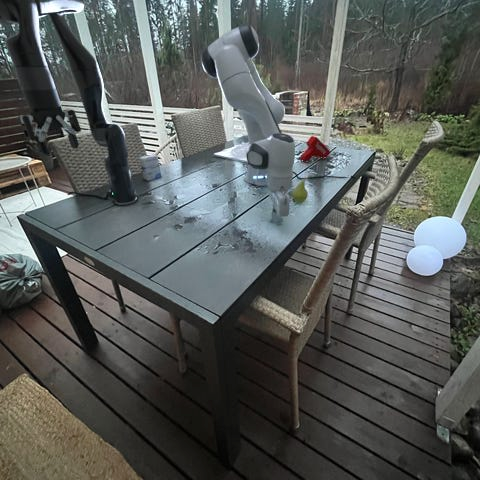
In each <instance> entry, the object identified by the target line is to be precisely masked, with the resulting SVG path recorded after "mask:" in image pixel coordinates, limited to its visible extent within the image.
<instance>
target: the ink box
mask: <svg viewBox="0 0 480 480" xmlns="http://www.w3.org/2000/svg"><path fill="white" fill-rule="evenodd" d="M138 158H139V162H140V168H141V173H142V178H143V180H145V181H148V182H149V181H152V180H153V181H154V180H156V179H159V178H162V173H161V167H160V160H159V156H158V155H156V154H149V155H145V156H144V155H143V156H139V157H138Z"/></svg>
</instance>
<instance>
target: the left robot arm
mask: <svg viewBox="0 0 480 480" xmlns="http://www.w3.org/2000/svg"><path fill="white" fill-rule="evenodd" d="M84 8H85V0H0V24H5V25H14V24H15V25H18V32H17V34H14V35H12V36H8V37H7V38H6V39H5V41H4V42H5V47H6V50H7V53H8V55H9V58H10V60H11V62H12V65H13V67H14V71H15V75H16V79H17V81H18V85H19V87H20V89H21V92H22V94H23V97H24V99H25V102H26V104H27V107H28V109H29V111H30V115H24V114H20V115H18V118H17V119H18V120H19V123H20V126H21V129H22V132H23V135H24V139H26V140H27V141H32V142H35V144H36V146H37V149H38V151H39V153H40V154H42V155H43V156H46V157H48V156H50V155H51V154H50V151H49V148H48V145H47V143H46V141H44V140H45V137H46V135H47V134H48V131H54V130H62V131H64V132H65V133H66V134H67V138H68V141H69V144H70V148H72V149H73V150H74V149H75V150H77V149H79V146H80V145H79V141H78V138H77V137H78V136H77V134H78V133H80V132H81V131H82V128H81V126H80V122H79V120H78V117H77V114H76V111H75V110H74V109H70V108H69V109H68V108H67V109H65V110H64V109H63V107H62V103H61V100H60V96H59V93H58V91H57V88H56V84H55V81H54V78H53V75H52V74H51V70H49V67H48V63H47V59H46V58H45V55H44V51H43V48H42V42H41V32H40V18H43V17H46V16H48V17H49V19H50V22H51V24H52V26H53V28H54V30H55V32H56V36H57V38H58V40H59V43H60V46H61V48H62V50H63V53H64V56H65V59H66V61H67V64H68V68H69V70H70V74H71V76H72V78H73V81H74V84H75V87H76V89H77V92H78V94H79V97H80V100H81V102H82V106H83V108H84V112H85V115H86V118H87V123H88V126H89V130H90V134H91V137H92V139H93V141H94V142H95V143H96V144H97V145H98V146H100V147H105V148H107V153H108V155H105V156H104V158H103V163H104V164H103V165H104V167H105V171H106V174H107V178H108V186H109V190H106V195H105V197H103V196H100V195H98V194H95V193H94V194H93V193H83V192H77V191H73V190H72V191H69V192H68V193H67V196H70V195H71V194H75V195H77V196H78V195H79V196H86V197H96V198H99V199H101V200H107V199H108V198H109V199H112V200H113V202H114V203H115V204H116V206H117V205H118V206H128V205H133V204H134V203H136V202H138V201H137V200H138V197H137V195H136V194H137V192H136V189H135V186H134V181H133V178H132V173H131V169H130V164H129V160H128V158H129V150H128V146H127V139H126V134H125V132H124V130H123V128H122V127H121V126H120V125H119V124H117V123H114V122H108V121H107V119H106V116H105V111H104V108H103V100H104V99H103V98H104V89H105V87H104V80H103V76H102V73H101V70H100V67H99V64H98V61H97V60H96V58H95V57H94V56H93V54H92V53H91V52H90V51H89V50H88V49H87V48H86V46H85V45H84V44H83V43H82V42H81V41H80V40H79V39H78V38H77V36H76V35H75V33H74V32H73V30H72V28H71V26H70V24H69V23H68V21H67V19H66V16H65V15H67V14H77V13H80V12H82V11H83V10H84ZM65 119H67V120H68V122H69V123H68V122H67V121H65ZM33 122H34V123H35V124H36V125H35V128H34V130H33V126H32V124H33Z"/></svg>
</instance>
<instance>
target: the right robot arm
mask: <svg viewBox="0 0 480 480" xmlns="http://www.w3.org/2000/svg"><path fill="white" fill-rule="evenodd" d="M259 51H260V40H259V36H258V33H257V32H256V30H255V29H254V28H253V27H252V25H251V24H249V23H248V22H245V23H242V24H239V25H238V26H237V27H235V28H233V29H231V30H229V31H227V32H224V33H223V34H222V35H220V37H218V38H217V39H216V40H214V41H213V42H211V43H210V44H209V45H207V46H205V47H204V48H203V49H202V51H201V53H200V60H201V65H202V68H203V70H204V72H205V73H206V74H207V75H208V77H210V78H213V79H218V84H219V87H220V89H221V92H222V94H223V97H224V99H225V101H226V102H227V104H228V105H229V106H230V107H231V108H233V109H235V110H237V113H238V115H239V118H240V119H241V120H242V122H243V124H244V126H245V129H246V133H247V139H248V140H247V142H248V144H249V146H248V148H247V152H246V157H247V163H246V164H247V171H246V175H245V177H244V179H245V180H244V181H245V182H246V183H249V184H252V185H255V186H257V187H267V193H268V196H269V199H270V201H271V203H272V209H274V208H275V210H276V212H277V215H276V220H277V221H280V220H281V217H282V218H287V217H289V216H290V206H291V198H290V195H289V193H288V191H290V190H291V189H292V186H293V177H294V175H295V176H296V178H297V179H298V180H305V179H306V178H307V177H299V176H298V173H297V172H295V171H293V166H294V164H295V159H296V156H295V155H296V143H295V140H294V137H293V136H291V135H290V134H288V133H285V132H284V133H283V132H282V130H281V129H280V127H279V125H281V124H282V122H283V120H284V118H285V115H286V109H285V105H284V104H283V103H282V102H281V101H279V100H277V99H276V98H275V96H274V95H273V94H272V93H271V92H270V91H269V90H268V88H267V87H266V86H265V84H264V83H263V81H262V79H261V77H260V75H259V72H258V69H257V68H256V65H255V63H254V60H253V58H255V57H256V56H257V54H258V53H259ZM320 178H333V179H346V178H348V177H345V176H335V175H318V176H317V175H316V176H310V177H309V178H307V179H306V180H309V179H320ZM350 178H351V179H354V178H355V177H354V176H353V175H351V177H350Z"/></svg>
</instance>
